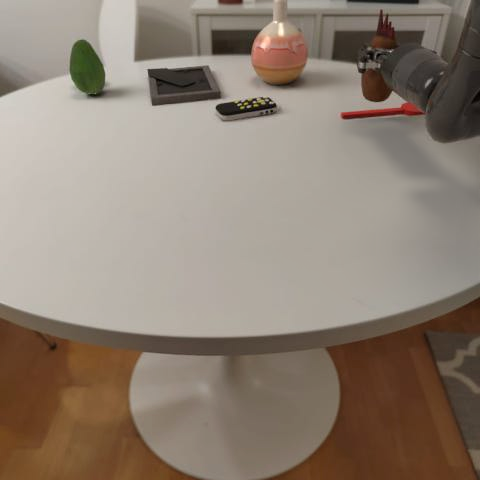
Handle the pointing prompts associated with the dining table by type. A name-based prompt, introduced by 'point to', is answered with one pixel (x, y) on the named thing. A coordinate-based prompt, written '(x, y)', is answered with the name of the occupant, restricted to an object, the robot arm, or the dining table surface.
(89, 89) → the avocado
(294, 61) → the vase
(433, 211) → the dining table surface
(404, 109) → the red spoon
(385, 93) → the wooden figurine
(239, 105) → the remote control
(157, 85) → the picture frame
